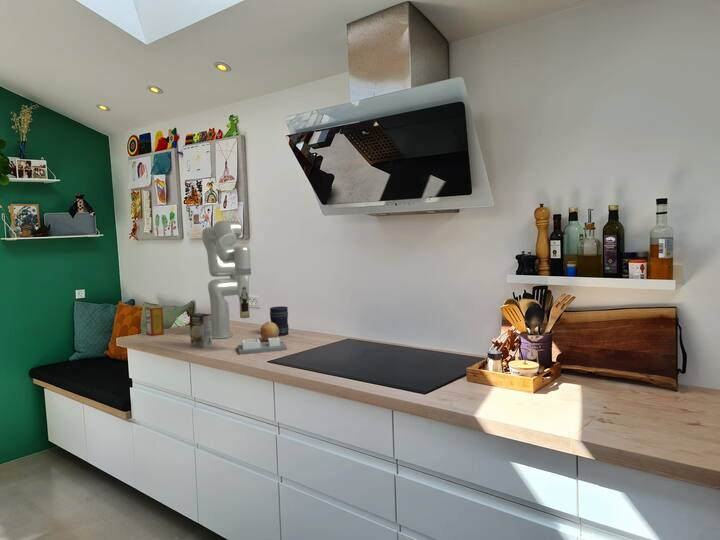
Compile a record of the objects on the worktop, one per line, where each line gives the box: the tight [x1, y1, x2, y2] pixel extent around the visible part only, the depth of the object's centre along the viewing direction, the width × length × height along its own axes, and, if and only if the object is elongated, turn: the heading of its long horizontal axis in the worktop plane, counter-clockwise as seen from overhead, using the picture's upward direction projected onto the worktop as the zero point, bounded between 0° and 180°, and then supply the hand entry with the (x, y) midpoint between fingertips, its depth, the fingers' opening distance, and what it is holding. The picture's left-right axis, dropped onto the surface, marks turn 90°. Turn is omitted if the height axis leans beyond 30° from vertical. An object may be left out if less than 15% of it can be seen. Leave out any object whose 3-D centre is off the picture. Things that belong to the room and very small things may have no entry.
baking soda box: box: [144, 305, 165, 337], centre depth 289 cm, size 10×6×16 cm
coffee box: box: [189, 312, 213, 349], centre depth 255 cm, size 9×6×16 cm
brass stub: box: [238, 295, 251, 319], centre depth 240 cm, size 4×4×10 cm
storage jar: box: [269, 305, 290, 337], centre depth 278 cm, size 10×10×15 cm
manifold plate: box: [237, 336, 288, 355], centre depth 244 cm, size 14×22×4 cm, turn 107°
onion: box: [259, 321, 279, 341], centre depth 263 cm, size 10×10×10 cm
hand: (244, 310), depth 241 cm, fingers closed on brass stub, 4 cm apart
